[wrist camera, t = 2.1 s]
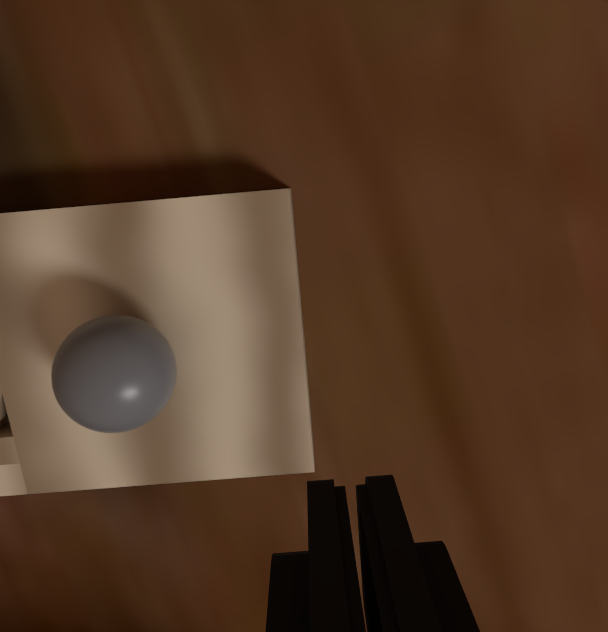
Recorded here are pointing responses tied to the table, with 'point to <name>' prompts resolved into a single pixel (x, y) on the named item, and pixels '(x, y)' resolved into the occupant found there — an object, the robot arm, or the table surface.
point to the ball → (114, 374)
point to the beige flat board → (175, 325)
